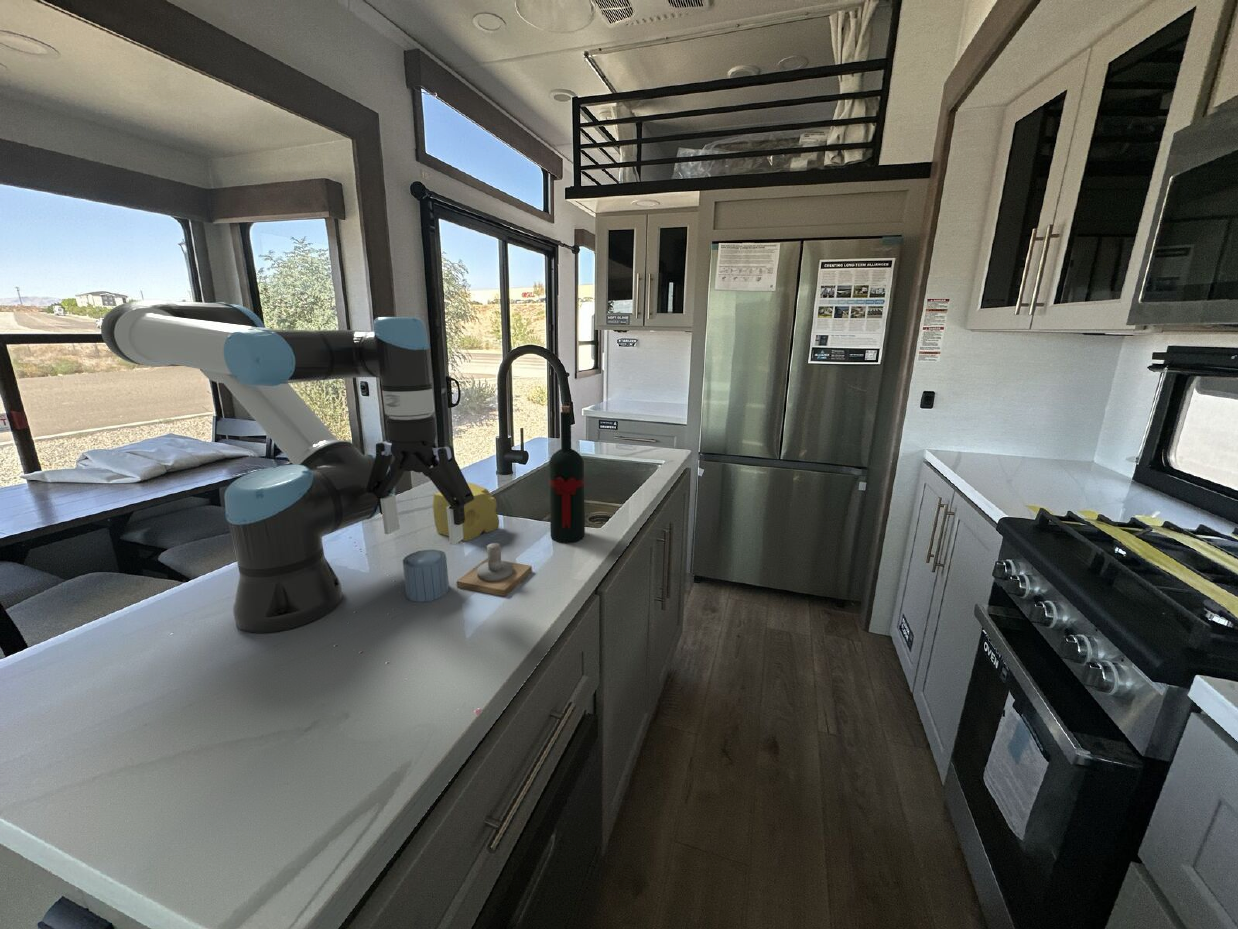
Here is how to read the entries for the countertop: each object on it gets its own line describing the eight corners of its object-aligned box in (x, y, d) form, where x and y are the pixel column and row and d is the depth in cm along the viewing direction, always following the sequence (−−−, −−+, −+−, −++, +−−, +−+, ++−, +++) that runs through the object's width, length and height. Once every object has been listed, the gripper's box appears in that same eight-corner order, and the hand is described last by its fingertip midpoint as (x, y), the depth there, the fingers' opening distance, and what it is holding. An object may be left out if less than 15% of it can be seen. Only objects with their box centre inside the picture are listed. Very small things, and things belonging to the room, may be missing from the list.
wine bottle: (548, 548, 106) (544, 411, 98) (551, 529, 116) (548, 403, 108) (584, 547, 107) (583, 411, 99) (585, 529, 116) (584, 404, 109)
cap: (397, 597, 86) (393, 563, 84) (425, 578, 92) (421, 547, 91) (431, 604, 84) (427, 570, 82) (456, 585, 90) (454, 552, 88)
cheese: (499, 528, 117) (497, 488, 114) (464, 544, 108) (460, 501, 105) (470, 519, 122) (467, 481, 119) (433, 533, 113) (429, 492, 111)
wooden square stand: (457, 587, 90) (454, 553, 88) (487, 563, 99) (485, 532, 97) (504, 596, 86) (502, 561, 85) (531, 571, 96) (530, 539, 94)
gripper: (332, 415, 80) (350, 535, 85) (461, 423, 72) (472, 555, 78) (368, 408, 87) (382, 520, 92) (489, 416, 79) (497, 537, 85)
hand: (423, 536), depth 85 cm, fingers open, 13 cm apart
